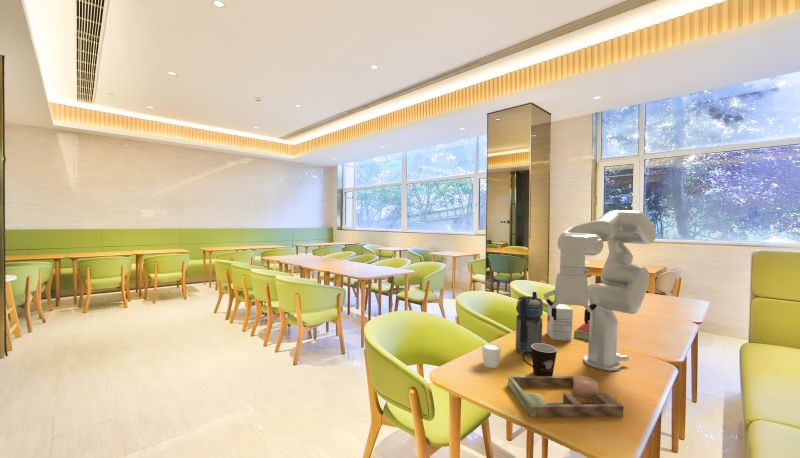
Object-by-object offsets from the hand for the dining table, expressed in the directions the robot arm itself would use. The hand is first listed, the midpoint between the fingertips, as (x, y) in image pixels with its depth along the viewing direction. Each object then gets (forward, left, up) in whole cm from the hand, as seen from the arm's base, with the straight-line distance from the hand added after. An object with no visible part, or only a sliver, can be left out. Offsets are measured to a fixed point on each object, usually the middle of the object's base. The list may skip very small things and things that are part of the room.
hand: (570, 320), depth 117 cm
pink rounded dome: (-2, +7, -22) cm, 23 cm away
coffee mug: (+7, -7, -22) cm, 24 cm away
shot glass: (+22, -15, -22) cm, 35 cm away
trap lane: (+8, +10, -22) cm, 25 cm away
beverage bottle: (+3, -26, -22) cm, 34 cm away
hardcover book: (-39, -47, -23) cm, 65 cm away
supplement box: (-20, -44, -22) cm, 53 cm away
